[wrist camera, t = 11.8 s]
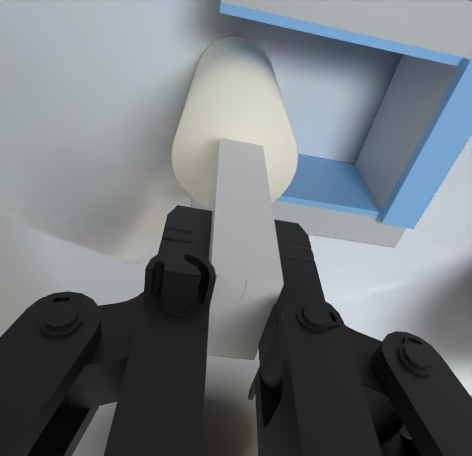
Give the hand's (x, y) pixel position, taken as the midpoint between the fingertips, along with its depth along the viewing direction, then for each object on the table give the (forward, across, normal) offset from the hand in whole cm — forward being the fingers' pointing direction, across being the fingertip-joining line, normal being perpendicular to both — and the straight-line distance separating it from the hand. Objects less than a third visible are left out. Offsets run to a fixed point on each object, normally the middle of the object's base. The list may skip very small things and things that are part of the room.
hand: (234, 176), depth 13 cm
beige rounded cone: (+12, 0, 0) cm, 12 cm away
